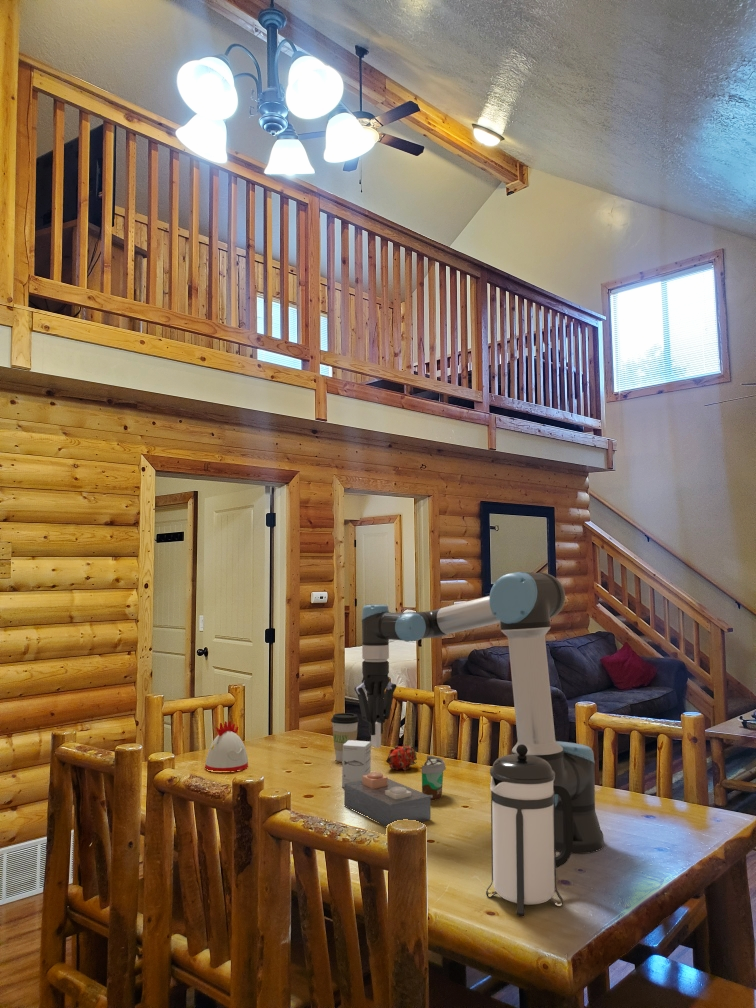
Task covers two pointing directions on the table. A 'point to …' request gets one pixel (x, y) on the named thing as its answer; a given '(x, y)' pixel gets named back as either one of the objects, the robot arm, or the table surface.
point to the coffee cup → (343, 731)
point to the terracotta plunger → (375, 780)
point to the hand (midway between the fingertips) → (376, 746)
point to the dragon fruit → (401, 757)
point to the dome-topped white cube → (397, 792)
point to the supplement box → (355, 761)
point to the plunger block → (387, 803)
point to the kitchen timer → (227, 750)
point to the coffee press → (526, 829)
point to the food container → (433, 777)
